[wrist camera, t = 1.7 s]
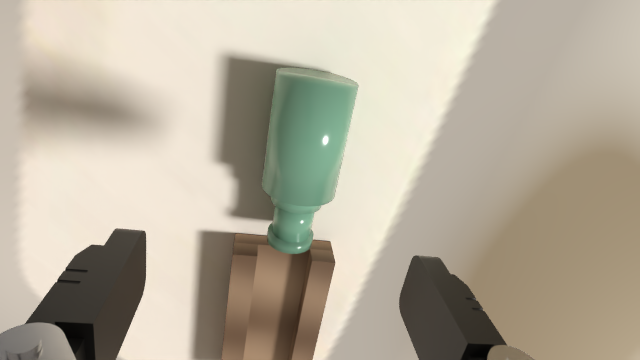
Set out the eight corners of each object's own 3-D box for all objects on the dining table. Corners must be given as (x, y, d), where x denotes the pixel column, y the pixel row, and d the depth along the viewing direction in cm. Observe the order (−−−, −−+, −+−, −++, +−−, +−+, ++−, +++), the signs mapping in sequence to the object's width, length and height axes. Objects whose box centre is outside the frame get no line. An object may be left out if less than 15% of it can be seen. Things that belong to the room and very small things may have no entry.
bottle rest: (235, 233, 25) (232, 254, 23) (330, 241, 26) (335, 262, 24) (221, 360, 30) (218, 387, 28) (303, 363, 31) (305, 389, 29)
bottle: (258, 67, 19) (320, 90, 17) (315, 67, 22) (374, 87, 20) (239, 234, 23) (288, 270, 21) (290, 215, 26) (337, 246, 24)
